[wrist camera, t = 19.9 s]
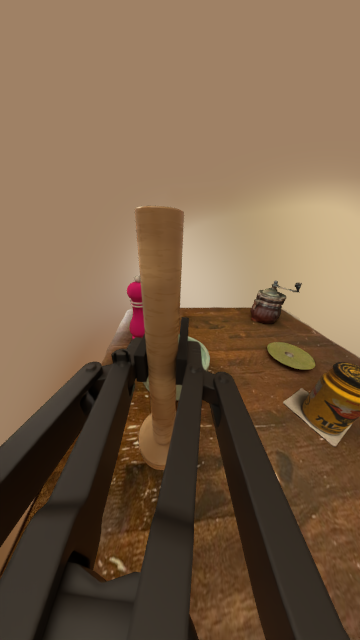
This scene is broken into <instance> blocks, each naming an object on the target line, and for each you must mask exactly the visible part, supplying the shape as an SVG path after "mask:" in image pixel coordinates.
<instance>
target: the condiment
mask: <svg viewBox="0 0 360 640" xmlns="http://www.w3.org/2000/svg"><path fill="white" fill-rule="evenodd" d="M283 403H284V404H285V405H287V406H288V407H289V408H290V409H291V410H292V411H294V412H295V413H296V414H297V415H298V416H299V417H300V418H302V419H303V420H304V421H305V422H306V423H307V424H308V425H309V426H310V427H312V428H313V429H314V430H315V431H316V432H318V433H319V434H320V435H321V436H322V437H323V438H325V439H326V440H327V441H328V442H329V443H330V444H332V445H333V446H336V445H337V444H338V442H339V441H340V440H341V438H342V437H343V436H344V434H345V433H346V432H347V430H348V429H349V428H350V426H351V425H352V423H353V422H354V421H355V420H356V419H357V418H358V417H359V416H360V366H357V365H354V364H350V363H345V362H338V363H336V364H334V365H333V368H331V369H330V370H329V372H326V373H325V374H323V375H322V377H321V379H320V380H319V381H318V383H317V384H316V386H315V387H314V388H313V390H312V391H311V392H310V394H309V393H308V392H307V391H305V390H304V389H302V388H301V389H300V390H299V391H297V392H296V393H295V394H294V395H292V396H291V397H290V398H288V399H287V400H285V401H284V402H283Z"/></svg>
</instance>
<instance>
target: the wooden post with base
mask: <svg viewBox="0 0 360 640" xmlns="http://www.w3.org/2000/svg"><path fill="white" fill-rule="evenodd" d="M135 218H136V230H137V242H138V254H139V267H140V279H141V292H142V304H143V316H144V328H145V341H146V353H147V365H148V377H149V390H150V402H151V414H150V415H149V416H148V417H147V418H146V419H145V421H144V422H143V424H142V426H141V429H140V432H139V447H140V452H141V455H142V457H143V459H144V461H145V462H146V463H147V464H148V465H149V466H150V467H152V468H154V469H158V470H164V469H165V465H166V460H167V455H168V450H169V446H170V441H171V436H172V431H173V427H174V422H175V417H176V412H175V405H176V385H175V383H176V358H177V352H178V337H179V314H180V289H181V268H182V245H183V243H182V242H183V222H184V212H183V211H181V210H179V209H176V208H171V207H164V206H141V207H137V208H135Z"/></svg>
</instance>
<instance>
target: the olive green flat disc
mask: <svg viewBox="0 0 360 640" xmlns="http://www.w3.org/2000/svg"><path fill="white" fill-rule="evenodd" d="M267 349H268V352H269V353H270V354H271V355H272V356H273V357H274V358H275V359H276V360H278V361H279V362H281V363H283V364H285V365H287V366H290V367H293V368H296V369H302V370H308V369H312V368H313V367H315V362H314V360H313V358H312V357H311V356H310V355H309V354H308V353H306V352H305V351H303V350H302V349H300V348H298V347H296V346H294V345H290V344H287V343H282V342H274V343H270V344H269V345H268V346H267Z"/></svg>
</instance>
